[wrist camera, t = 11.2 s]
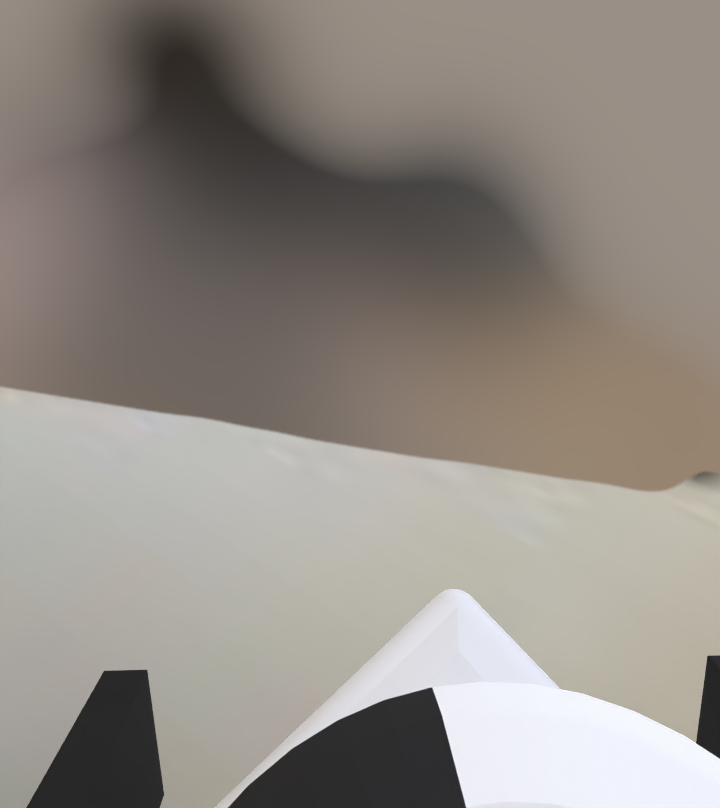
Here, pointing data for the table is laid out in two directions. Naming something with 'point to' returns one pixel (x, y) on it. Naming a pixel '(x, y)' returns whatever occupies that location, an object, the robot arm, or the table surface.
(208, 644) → the table surface
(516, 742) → the medicine bottle
